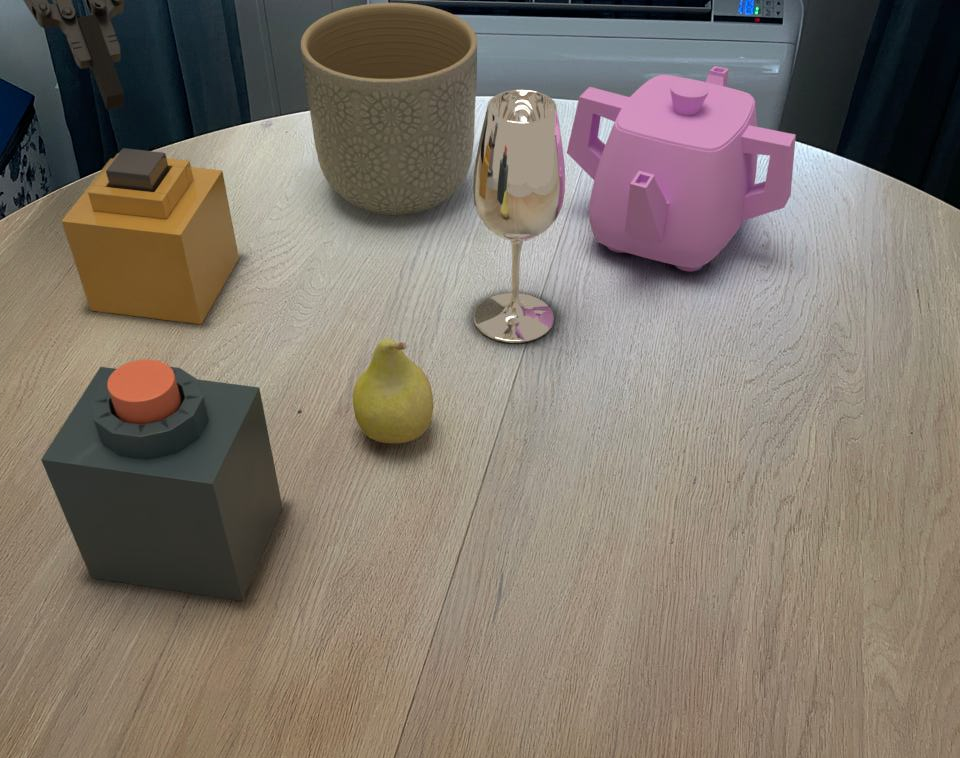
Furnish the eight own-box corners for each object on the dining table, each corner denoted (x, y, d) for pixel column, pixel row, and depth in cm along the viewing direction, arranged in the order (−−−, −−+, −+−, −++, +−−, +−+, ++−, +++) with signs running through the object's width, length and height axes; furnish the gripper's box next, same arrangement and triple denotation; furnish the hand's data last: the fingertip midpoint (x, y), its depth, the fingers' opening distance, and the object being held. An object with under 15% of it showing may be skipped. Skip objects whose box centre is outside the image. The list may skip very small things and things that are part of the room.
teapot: (704, 174, 118) (730, 27, 106) (794, 263, 107) (834, 111, 95) (543, 209, 113) (552, 60, 101) (621, 305, 103) (641, 152, 91)
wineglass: (455, 317, 101) (452, 103, 86) (515, 284, 105) (523, 73, 89) (511, 356, 98) (520, 140, 82) (572, 321, 101) (591, 108, 85)
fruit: (418, 399, 94) (412, 279, 85) (449, 453, 90) (447, 333, 80) (345, 418, 92) (331, 297, 83) (374, 474, 88) (362, 354, 79)
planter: (308, 232, 110) (288, 78, 98) (328, 148, 120) (312, -1, 108) (473, 236, 110) (473, 82, 98) (479, 152, 120) (480, 3, 108)
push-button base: (90, 310, 102) (55, 202, 93) (134, 246, 108) (105, 139, 100) (201, 324, 100) (176, 215, 92) (239, 258, 107) (218, 151, 98)
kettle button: (110, 189, 95) (105, 170, 94) (127, 166, 97) (122, 147, 96) (153, 194, 95) (148, 175, 93) (169, 171, 97) (165, 152, 96)
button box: (90, 577, 81) (30, 436, 70) (140, 486, 87) (92, 343, 76) (242, 601, 80) (206, 461, 69) (282, 507, 86) (255, 364, 75)
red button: (104, 421, 72) (96, 396, 70) (129, 379, 74) (122, 355, 73) (167, 429, 71) (160, 405, 70) (190, 387, 74) (184, 363, 72)
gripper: (87, -174, 93) (186, 103, 97) (-68, -152, 90) (41, 135, 94) (86, -234, 86) (192, 67, 90) (-83, -214, 83) (35, 100, 87)
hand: (115, 101), depth 92 cm, fingers closed
